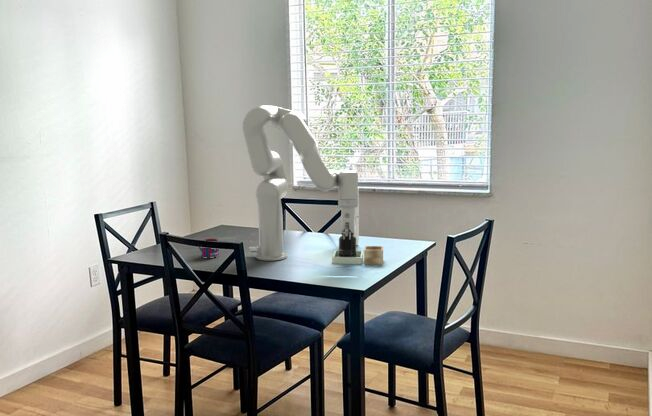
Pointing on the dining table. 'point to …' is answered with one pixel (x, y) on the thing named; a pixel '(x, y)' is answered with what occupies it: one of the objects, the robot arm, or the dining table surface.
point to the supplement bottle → (347, 252)
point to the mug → (209, 250)
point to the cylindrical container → (357, 222)
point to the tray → (347, 258)
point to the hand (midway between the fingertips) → (348, 246)
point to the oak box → (373, 255)
